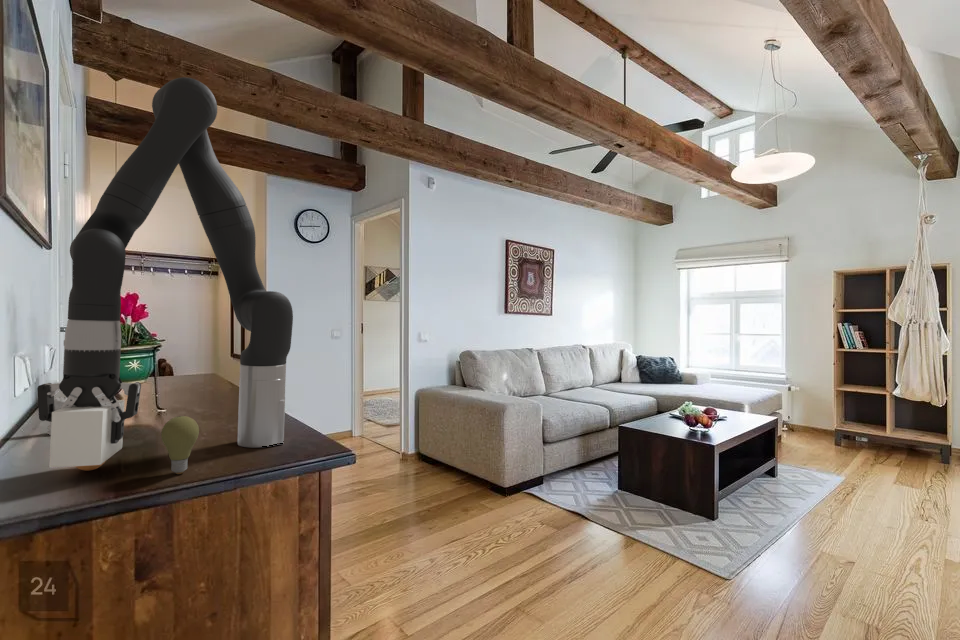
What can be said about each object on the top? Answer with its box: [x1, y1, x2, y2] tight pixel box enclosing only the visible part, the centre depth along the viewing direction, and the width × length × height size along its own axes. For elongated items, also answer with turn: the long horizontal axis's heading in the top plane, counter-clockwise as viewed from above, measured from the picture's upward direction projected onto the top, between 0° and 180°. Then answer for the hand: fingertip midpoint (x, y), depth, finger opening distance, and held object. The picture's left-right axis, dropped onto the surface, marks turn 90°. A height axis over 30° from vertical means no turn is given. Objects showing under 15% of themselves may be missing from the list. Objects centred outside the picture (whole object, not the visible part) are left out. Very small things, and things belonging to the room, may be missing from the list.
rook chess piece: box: [46, 396, 67, 436], centre depth 106 cm, size 4×4×8 cm
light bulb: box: [160, 415, 200, 475], centre depth 83 cm, size 6×6×10 cm
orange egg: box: [74, 460, 107, 472], centre depth 83 cm, size 5×5×5 cm
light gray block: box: [48, 399, 125, 469], centre depth 81 cm, size 7×11×9 cm, turn 22°
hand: (89, 443), depth 81 cm, fingers closed on light gray block, 6 cm apart
